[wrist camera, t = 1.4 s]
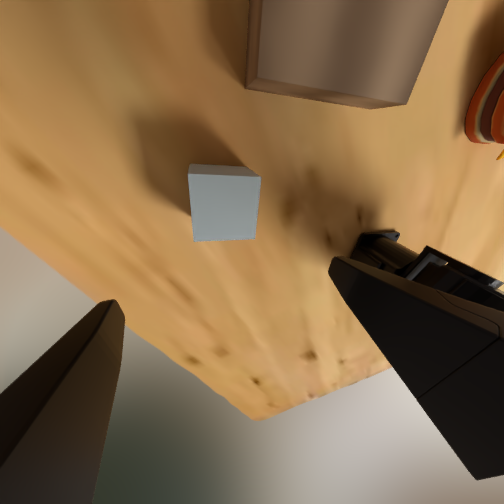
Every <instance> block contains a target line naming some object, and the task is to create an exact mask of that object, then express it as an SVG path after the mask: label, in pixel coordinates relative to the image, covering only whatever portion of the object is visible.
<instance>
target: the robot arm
mask: <svg viewBox="0 0 504 504" xmlns="http://www.w3.org/2000/svg"><path fill="white" fill-rule="evenodd" d="M399 236H400V233H399V232H371V233H362V234H361V235H360V237H359V240H358V242H357V244H356V247H355V249H354V251H353V254H352V256H351V258H347V257H344V256H337V257H334V258H333V259H332V261H331V264H330V267H329V270H328V274H329V276H330V278H331V279H332V281H333V283H334V284H335V286H336V288H337V289H338V291H339V293H340V294H341V296H342V298H343V299H344V301H345V302H346V304H347V305H348V307H349V308H350V309H351V311H352V312H353V313H354V315H355V316H356V318H357V319H358V320H359V322H360V323H361V324H362V326H363V327H364V329H365V330H366V331H367V333H368V334H369V335H370V337H371V338H372V339H373V341H374V342H375V344H376V345H377V346H378V348H379V349H380V350H381V352H382V353H383V355H384V356H385V357H386V359H387V360H388V361H389V363H390V364H391V365H392V367H393V368H394V370H395V371H396V372H397V374H398V375H399V376H400V378H401V379H402V381H403V382H404V383H405V384H406V386H407V387H408V389H409V390H410V391H411V393H412V394H413V396H414V397H415V398H416V399H417V401H418V403H419V404H420V405H421V407H422V408H423V410H424V411H425V412H426V414H427V415H428V416H429V418H430V419H431V420H432V422H433V423H434V425H435V426H436V427H437V429H438V430H439V431H440V433H441V434H442V436H443V437H444V438H445V440H446V441H447V442H448V444H449V445H450V446H451V448H452V449H453V451H454V452H455V453H456V455H457V456H458V457H459V459H460V460H461V461H462V463H463V464H464V466H465V467H466V468H467V470H468V471H469V472H470V473H471V475H472V476H473V477H474V478H475V479H476V480H481V479H486V478H491V477H496V476H501V475H504V292H503V291H501V290H499V289H498V288H499V287H500V286H501V285H503V284H504V283H503V282H501V281H499V280H497V279H495V278H493V277H491V276H489V275H487V274H485V273H483V272H481V271H479V270H477V269H475V268H473V267H471V266H469V265H467V264H465V263H463V262H461V261H459V260H457V259H455V258H453V257H451V256H448V255H446V254H444V253H442V252H440V251H438V250H436V249H433V248H431V247H429V246H427V245H426V246H425V248H424V250H423V251H422V252H421V253H420V254H417V253H415V252H414V251H412V250H410V249H408V248H406V247H404V246H403V245H401V244H399V243H397V242H396V241H397V240H398V238H399ZM447 262H448V264H447V265H445V264H446V263H447ZM124 326H125V316H124V313H123V311H122V309H121V308H120V306H119V304H118V302H117V301H116V300H115V299H111V300H106V301H102V302H100V303H98V304H97V305H96V306H95V307H94V308H93V309H92V310H91V311H90V312H88V313H87V314H86V315H85V316H84V317H83V318H82V319H81V320H80V321H79V322H78V323H77V324H75V325H74V326H73V327H72V328H71V329H70V330H69V331H68V332H67V333H66V334H65V335H64V336H62V337H61V338H60V339H59V340H58V341H57V342H56V343H55V344H54V345H53V346H52V347H51V348H50V349H48V350H47V351H46V352H45V353H44V354H43V355H42V356H41V357H40V358H39V359H38V360H36V361H35V362H34V363H33V364H32V365H31V366H30V367H29V368H28V369H27V370H26V371H25V372H23V373H22V374H21V375H20V376H19V377H18V378H17V379H16V380H15V381H14V382H13V383H11V384H10V385H9V386H8V387H7V388H6V389H5V390H4V391H3V392H2V393H1V394H0V504H92V501H93V496H94V491H95V486H96V482H97V477H98V473H99V468H100V463H101V458H102V453H103V448H104V444H105V439H106V434H107V429H108V425H109V420H110V415H111V410H112V406H113V401H114V396H115V392H116V387H117V381H118V377H119V372H120V367H121V360H122V349H123V338H124Z"/></svg>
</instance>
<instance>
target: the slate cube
mask: <svg viewBox="0 0 504 504" xmlns="http://www.w3.org/2000/svg"><path fill="white" fill-rule="evenodd" d="M188 183H189V194H190V205H191V216H192V227H193V239H194V242H197V241H221V240H245V239H255V234H256V224H257V215H258V205H259V195H260V186H261V176H259V175H258V174H256V173H255V172H253V171H252V170H250V169H249V168H247V167H242V166H225V165H208V164H190V166H189V170H188Z"/></svg>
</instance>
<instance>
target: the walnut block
mask: <svg viewBox="0 0 504 504" xmlns="http://www.w3.org/2000/svg"><path fill="white" fill-rule="evenodd" d="M448 1H449V0H249V15H248V36H247V56H246V77H245V89H249V90H255V91H261V92H267V93H274V94H280V95H286V96H292V97H298V98H304V99H310V100H316V101H322V102H328V103H334V104H341V105H347V106H353V107H359V108H365V109H377V108H385V107H392V106H399V105H406V104H407V102H408V99H409V97H410V94H411V92H412V90H413V87H414V85H415V82H416V80H417V77H418V75H419V72H420V70H421V67H422V65H423V62H424V60H425V57H426V55H427V52H428V50H429V48H430V45H431V43H432V40H433V38H434V35H435V33H436V30H437V28H438V25H439V23H440V20H441V18H442V15H443V13H444V10H445V8H446V6H447V3H448Z"/></svg>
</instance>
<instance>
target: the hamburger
mask: <svg viewBox="0 0 504 504" xmlns="http://www.w3.org/2000/svg"><path fill="white" fill-rule="evenodd" d="M466 135H467V136H468V138H469V139H470V140H471V142H474V143H482V144H490V143H493V142H497V143H500V144H504V53H502V54H501V55H500V56H499V58H498V59H497V60H496V61H495V63H494V64H493V65H492V67H491V68H490V69H489V70H488V72H487V73H486V74H485V75H484V77H483V79H482V81H481V83H480V84H479V86H478V88H477V90H476V92H475V94H474V96H473V97H472V99H471V102H470V106H469V109H468V112H467V116H466ZM503 157H504V150H503V151H502V152H501V154H500V155H499V156H498V158H497V159H496V160H499V159H501V158H503Z"/></svg>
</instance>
